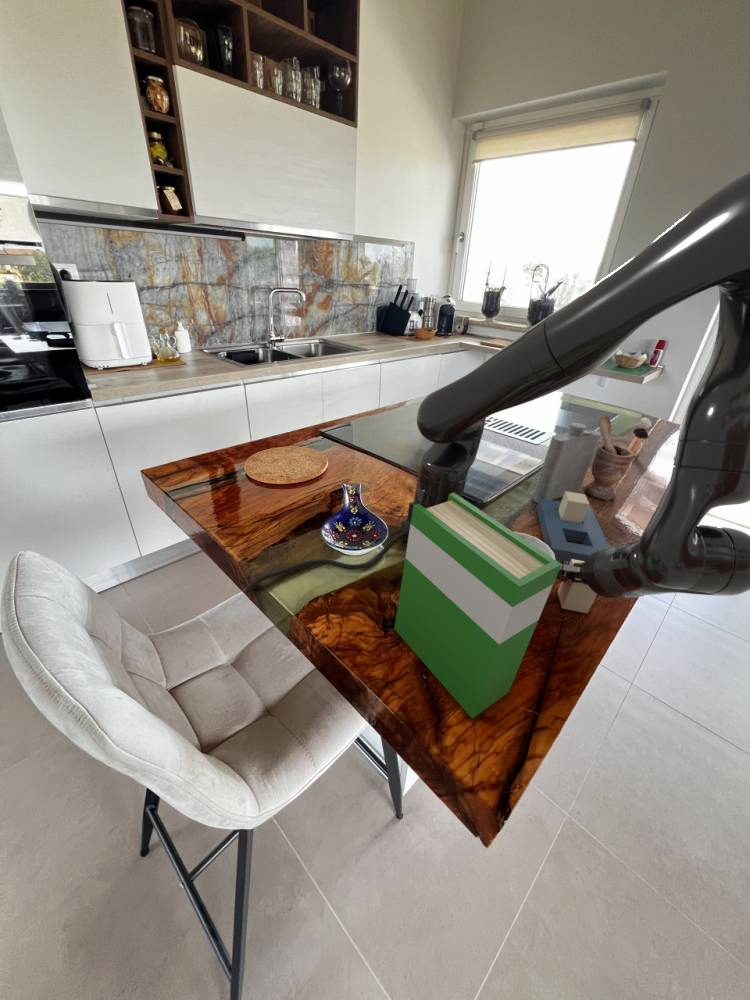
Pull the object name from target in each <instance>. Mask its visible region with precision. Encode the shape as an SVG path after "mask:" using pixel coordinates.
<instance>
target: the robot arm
mask: <svg viewBox="0 0 750 1000" xmlns="http://www.w3.org/2000/svg"><path fill="white" fill-rule="evenodd" d="M715 287H718V295H719V299H718V300H719V303H718V306H719V308H718V309H719V310H718V323H717V324H718V325H717V332H716V337H715V340H714V344H713V349H712V351H711V355H710V358H709V360H708V362H707V366H706V367H705V369H704V372H703V374H702V376H701V378H700V380H699V382H698V384H697V386H696V388H695V390H694V392H693V394H692V396H691V398H690V400H689V403H688V405H687V408H686V411H685V413H684V415H683V419H682V422H681V426H680V431H679V434H678V441H677V444H676V445H677V446H676V450H675V455H674V459H673V460H674V461H673V468H672V471H671V473H672V474H671V477H670V479H669V482H668V484H667V486H666V489H665V490H664V492H663V494H662V496H661V498H660V501H659V502H658V505H657V507H656V509H655V510H654V513H653V514H652V516H651V517H650V520H649V521H648V523H647V525H646V526H645V528H644V530H643V533H642V535H641V536H640V539H636V540H632V541H629V542H620V543H617V544H612V545H610V546H609V547H607V548H603V549H600V550H597V551H595V552H593V553H592V554H591V555H589V556H588V558H587V559H586V560H585V562H580V563H574V564H573V566H570V565H569V564H568V562H566V561H565V560H563V559H557V561H558V562H559V563H561V564H562V565H561V567H560V569H559V572H558V574H557V577H556V579H557V580H560V582H570V581H572V582H573V583H577V584H585V585H588V586H589V587H590V588H591V589H592V590H593V591H594V592H595V593H597V595H598V596H601V597H603V598H606V599H627V598H631V599H633V598H641V597H644V596H650V595H651V596H653V595H663V594H686V595H687V594H688V595H700V596H718V597H720V596H721V597H731V596H738V595H740V594H741V595H742V594H743V593H746V592H748V591H750V534H748V533H746V532H744V531H742V530H739V529H735V528H731V527H724V526H715V525H706V524H700V523H701V522H702V520H703V519H704V518H705V516H706V515H707V514H708V513H709V512H710V511H711V510H712V509H714V508H717V507H724V506H733V505H735V506H736V505H741V504H746V503H748V502H750V170H748V171H747V172H745V173H743V174H741V175H738V176H737V177H736V178H734V179H733V180H731V181H730V182H727V183H726V184H725V185H723V186H721V188H719V189H717V190H716V191H715V192H713V193H712V194H711V195H710V196H708V197H707V198H706V199H705V200H703V201H702V202H700V203H699V204H697V206H696V207H694V208H693V209H692V210H690V211H689V212H688V213H687V214H686V215H684V216H683V217H682V218H681V219H679V220H678V221H677V222H675V223H674V225H672V226H671V227H670V228H668V229H667V230H666V231H665V232H663V233H662V234H661V235H659V236H658V237H657V238H656V239H655V240H654V241H652V242H651V243H650V244H648V245H647V246H646V247H645V248H643V249H642V250H641V251H640V252H638V254H636V255H635V256H633V258H631V259H629V260H628V261H627V262H625V263H624V264H623V265H621V266H620V267H618V268H617V269H616V270H614V271H613V272H611V273H610V274H608V275H606V276H605V277H604V278H602V279H601V280H600V281H598V282H597V283H596V284H594V285H592V286H591V287H590V288H588V289H587V290H585V291H584V292H583V293H581V294H580V295H579V296H577V297H575V298H574V299H573V300H571V301H570V302H568V303H567V304H565V305H564V306H562V307H561V308H559V309H557V310H556V311H554V312H552V313H551V314H549V315H548V316H547V317H545V318H543V319H542V320H541V321H539V322H538V323H536V324H535V325H533V326H532V327H530V328H528V329H527V330H526V331H525V332H523V333H522V334H521V335H519V336H518V337H517V338H515V339H514V340H512V341H511V342H509V343H507V345H505V346H504V347H503V348H501V349H500V350H498V351H496V353H494V354H493V355H492V356H490V357H489V358H487V360H485V361H483V363H481V364H480V365H479V366H477V367H476V368H474V369H473V370H472V371H470V372H469V373H467V374H466V375H463V376H461V377H460V378H458V379H457V380H454V381H452V382H451V383H449V384H446V385H444V386H443V387H440V388H439V389H436V390H434V391H432V392H430V393H429V394H428V395H427V396H425V398H424V399H423V400H422V401H421V403H420V405H419V408H418V409H417V415H416V426H417V429H418V431H419V433H420V434H421V435H422V437H423V438H424V439H426V440H427V441H429V442H431V443H432V444H431V445H430V446H429V447H428V448H426V450H425V451H424V452H423V453H422V455H421V456H420V458H419V459H420V460H419V466H418V474H417V479H416V485H415V492H414V499H413V501H410V502H409V504H408V510H407V518H405V519H402V520H401V523H400V530H401V532H400V533H398V534H397V535H395V536H394V537H392V538H391V540H389V541H388V542H387V544H386V545H385V547H384V548H382V549H381V550H380V551H379V552H378V553H377V554H376V555H375V556H374V557H372V558H371V559H370V560H368V561H365V562H362V563H357V564H351V563H346V562H340V561H338V560H334V559H329V558H317V559H309V560H305V561H301V562H298V563H294V564H292V565H288V566H287V567H286V566H285V567H283V568H279V569H275V570H272V571H269V572H265V573H263V574H262V575H260V576H258V577H257V578H255V579H254V580H253V581H251V583H250V584H249V585H248V586H247V588H246V589H245V591H246V593H247V592H248V593H250V592H252V591H254V590H255V588H256V587H257V586H258V585H260V584H261V583H262V582H264V581H266V580H267V579H269V578H273V577H275V576H279V575H283V574H286V573H289V572H292V571H294V570H298V569H301V568H304V567H308V566H313V565H314V566H315V565H329V566H333V567H337V568H340V569H346V570H361V569H362V570H363V569H365V568H369V567H371V566H373V565H375V563H377V562H378V561H379V560H380V559H381V558H382V557H383V556H385V555H386V554H387V553H388V552H389V550H390V549H391V548H392V547H393V546H394V544H395V543H397V542H398V541H400V540H401V539H403V538H404V541H405V542H406V544H408V537H409V531H410V524H411V518H412V512H413V505H416V504H420V505H421V506H423V507H424V508H425V509H426V508H429V507H432V506H435V505H439V504H442V503H445V502H448V497H449V494H451V493H455V494H457V495H458V496H460V497H461V498H463V495H464V491H465V487H466V486H465V485H466V483H467V478H468V473H469V471H470V468H471V467H472V465H473V464H474V463H475V461H476V457H477V454H478V451H479V447H480V444H481V441H482V437H483V434H484V430H485V427H486V420H487V417H489V416H492V415H494V414H497V413H499V412H502V411H505V410H508V409H512V408H515V407H518V406H521V405H524V404H527V403H530V402H532V401H534V400H537V399H540V398H542V397H546V396H547V395H550V394H551V393H554V392H557V391H558V390H561V389H563V388H565V387H567V386H569V385H571V384H573V383H574V382H576V381H579V380H581V379H583V378H584V377H586V376H588V375H590V374H591V373H593V372H594V371H596V370H598V369H599V368H601V366H603V365H604V364H605V363H606V362H608V360H609V359H610V358H611V357H613V356H614V355H615V353H616V352H618V350H620V348H621V347H622V346H623V345H624V344H626V342H627V341H628V340H629V339H630V338H631V337H632V336H633V335H634V334H635V333H636V332H637V331H638V330H639V329H640V328H641V327H643V326H644V325H645V324H647V323H648V322H650V321H651V320H652V319H654V318H656V317H657V316H659V315H660V314H662V313H664V312H666V311H668V310H669V309H671V308H673V307H676V306H678V305H679V304H681V303H683V302H685V301H687V300H689V299H691V298H693V297H695V296H697V295H699V294H701V293H703V292H706V291H707V290H710V289H712V288H715Z"/></svg>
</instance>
